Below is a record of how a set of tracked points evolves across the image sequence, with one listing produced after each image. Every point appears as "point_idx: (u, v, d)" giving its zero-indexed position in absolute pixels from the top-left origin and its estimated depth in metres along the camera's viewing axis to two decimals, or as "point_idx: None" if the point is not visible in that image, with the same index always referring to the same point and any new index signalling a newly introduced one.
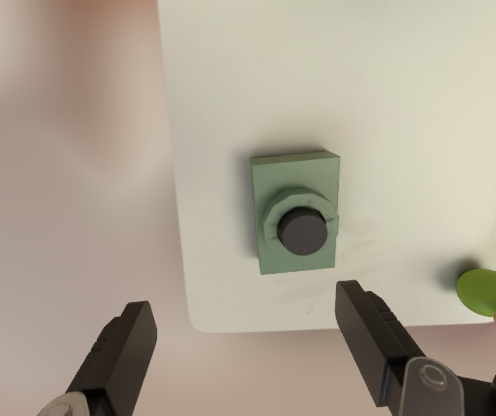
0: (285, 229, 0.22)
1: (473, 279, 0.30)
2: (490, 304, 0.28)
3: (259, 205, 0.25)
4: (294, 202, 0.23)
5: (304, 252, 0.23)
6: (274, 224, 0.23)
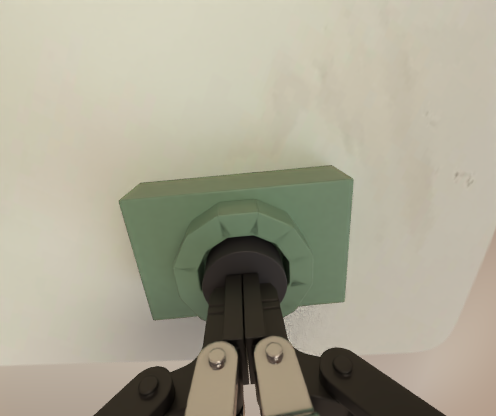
0: None
1: None
2: None
3: None
4: (192, 291, 0.13)
5: (281, 285, 0.12)
6: None
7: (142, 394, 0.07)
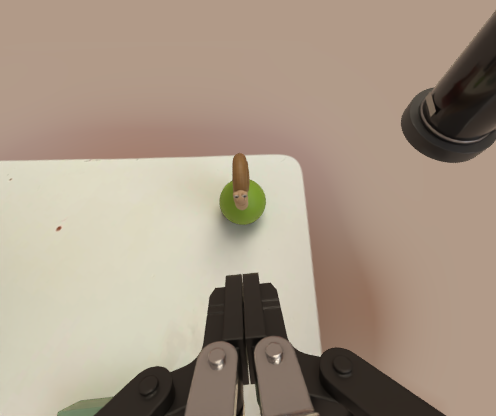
0: None
1: (227, 218, 0.30)
2: None
3: None
4: None
5: None
6: None
7: (142, 394, 0.07)
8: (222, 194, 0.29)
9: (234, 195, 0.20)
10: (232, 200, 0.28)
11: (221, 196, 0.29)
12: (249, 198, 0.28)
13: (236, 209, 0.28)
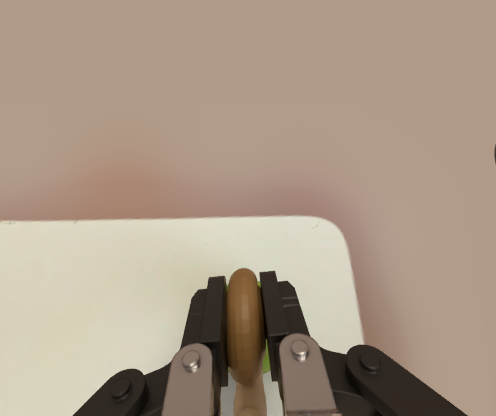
0: None
1: None
2: None
3: None
4: None
5: None
6: None
7: (114, 397, 0.07)
8: None
9: None
10: None
11: None
12: None
13: None
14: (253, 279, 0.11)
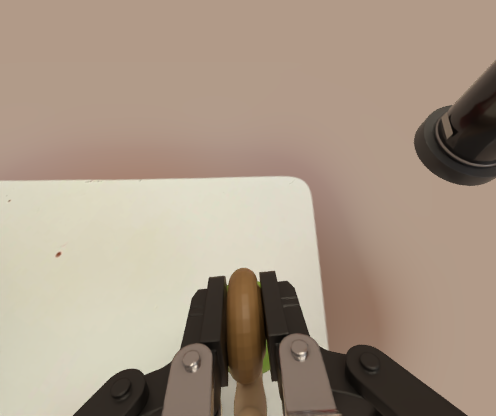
0: None
1: None
2: None
3: None
4: None
5: None
6: None
7: (114, 397, 0.07)
8: None
9: None
10: None
11: None
12: None
13: None
14: (253, 279, 0.11)
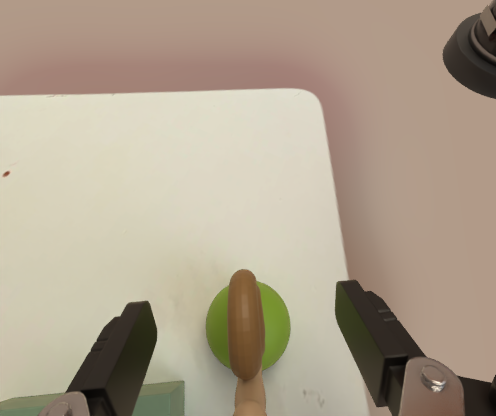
0: None
1: None
2: None
3: None
4: None
5: None
6: None
7: None
8: (210, 321, 0.15)
9: None
10: None
11: (208, 323, 0.16)
12: None
13: None
14: (252, 280, 0.11)
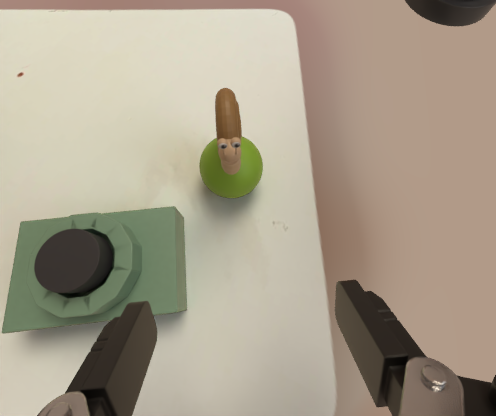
0: (49, 289, 0.16)
1: (210, 189, 0.22)
2: None
3: (61, 320, 0.18)
4: None
5: (94, 257, 0.16)
6: (64, 301, 0.17)
7: None
8: (203, 156, 0.21)
9: (219, 144, 0.12)
10: (217, 163, 0.20)
11: (201, 159, 0.21)
12: (241, 160, 0.20)
13: (223, 176, 0.20)
14: (232, 91, 0.17)
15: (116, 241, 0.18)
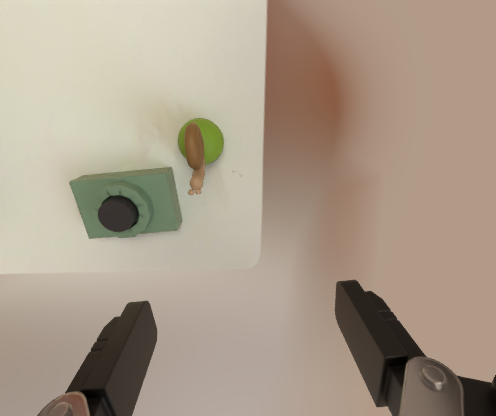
0: (112, 230, 0.31)
1: None
2: None
3: None
4: None
5: (129, 216, 0.30)
6: None
7: None
8: (180, 142, 0.29)
9: (189, 194, 0.24)
10: None
11: (179, 143, 0.30)
12: (206, 151, 0.29)
13: None
14: (195, 131, 0.24)
15: (136, 202, 0.31)
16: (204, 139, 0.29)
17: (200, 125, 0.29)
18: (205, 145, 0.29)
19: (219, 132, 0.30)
